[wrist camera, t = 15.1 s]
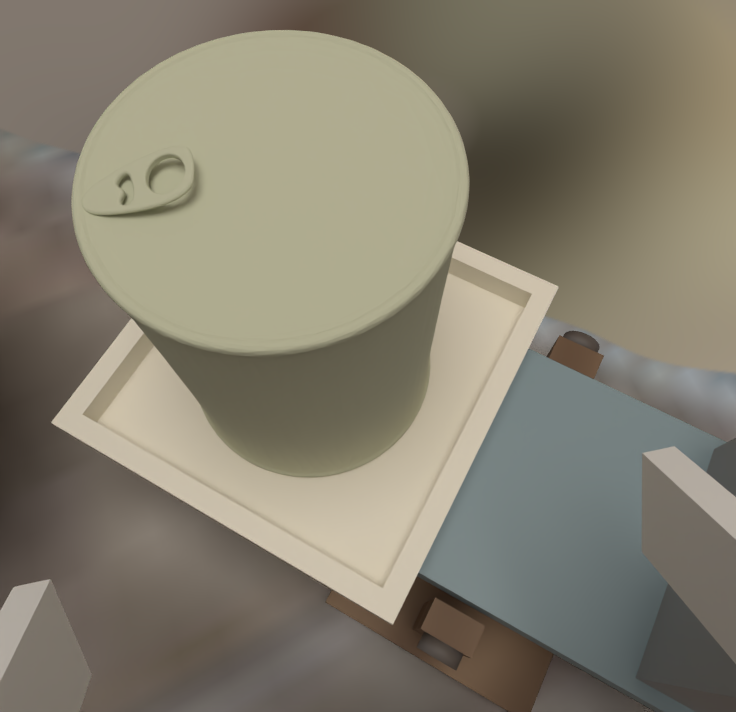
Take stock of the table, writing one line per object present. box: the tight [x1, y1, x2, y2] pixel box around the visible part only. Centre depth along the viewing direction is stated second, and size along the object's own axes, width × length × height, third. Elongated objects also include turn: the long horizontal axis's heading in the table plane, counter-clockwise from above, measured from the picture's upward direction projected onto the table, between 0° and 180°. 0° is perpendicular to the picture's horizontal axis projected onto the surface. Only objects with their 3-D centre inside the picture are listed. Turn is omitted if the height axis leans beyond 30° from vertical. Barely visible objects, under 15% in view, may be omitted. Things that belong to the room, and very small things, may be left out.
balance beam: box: [51, 242, 736, 712], centre depth 22 cm, size 30×14×8 cm, turn 61°
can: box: [71, 30, 469, 477], centre depth 20 cm, size 9×9×12 cm
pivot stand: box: [326, 331, 604, 712], centre depth 28 cm, size 10×15×8 cm, turn 151°
